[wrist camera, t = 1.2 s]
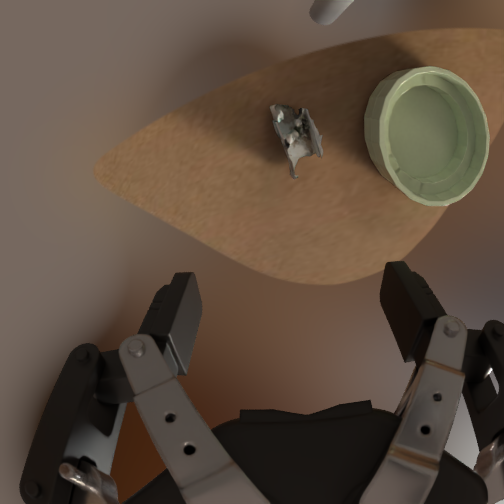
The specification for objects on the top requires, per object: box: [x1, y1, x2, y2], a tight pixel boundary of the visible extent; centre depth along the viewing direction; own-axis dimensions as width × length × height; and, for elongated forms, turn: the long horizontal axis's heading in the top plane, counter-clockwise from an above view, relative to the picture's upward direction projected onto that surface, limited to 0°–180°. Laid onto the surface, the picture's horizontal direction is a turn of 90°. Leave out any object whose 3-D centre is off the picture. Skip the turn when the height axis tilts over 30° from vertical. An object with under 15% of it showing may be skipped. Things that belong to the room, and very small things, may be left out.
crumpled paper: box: [269, 104, 323, 179], centre depth 25 cm, size 4×8×7 cm, turn 21°
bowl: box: [364, 66, 490, 206], centre depth 24 cm, size 15×15×5 cm
